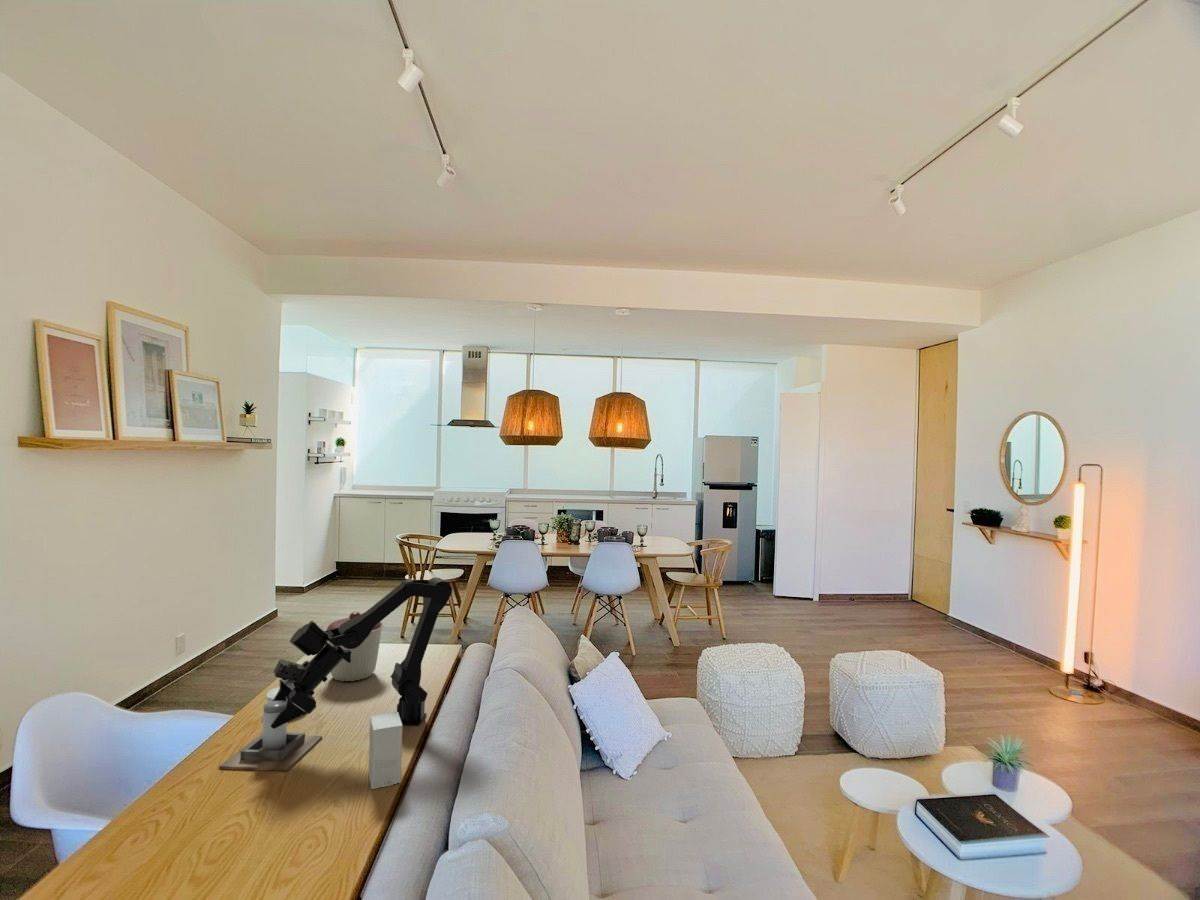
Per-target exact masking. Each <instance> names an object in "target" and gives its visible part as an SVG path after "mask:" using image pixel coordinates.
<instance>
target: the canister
mask: <svg viewBox="0 0 1200 900" xmlns="http://www.w3.org/2000/svg"><path fill="white" fill-rule="evenodd" d="M361 614H362V613H360V612H359V611H353V612H351V613H350V614H349V617H345V618H341V619H337V620H335V621H333V622H331V623H329V624H328V625H327V626H325V628H324V631H326V630H330V629H334V628H337V627H339V626H340V625H341V624H343V623H345V622H346V621H348V620H350V619H351V618H353V617H356V616H358V615H361ZM384 626H385V623H384V622H383V621H380V622H379V623H378V624H377V625H376V626H375V627H374V628H373V630H372V631H371V633H370V634H369V636H368V637H367V638H366V639H365V640H364V641H363V643H362V644H361V645H360V646H358V647H357V648H355V649H347V648H344V647H343V646H340V647H341V648H343V649H344V650H350V651H351V652H352V653H351V662H350V663H348V662H347V661H345V660H344V659H342V660H341V661H340V662H339V664H338V665H337V666H336V667H335V668H334V669H333V670H332V671H331V672H330V675H331V677H332V678H333V679H334V680H336V681H338V680H339V682H344V681H351V682H356V681H355V680H358V681H361V680H360V679H362V680H365V679H367V678H368V677H371V676H372V675H373V673H374V672H375V670H376V666H377V661H378V656H379V651H380V650H379V648H380V641H381V635H382V629H383V628H384ZM327 642H328V643H329V644H331V645H332V646H334V645H333V644H332V643H331V642H329V640H328V641H327ZM364 678H365V679H364Z"/></svg>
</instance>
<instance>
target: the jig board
mask: <svg viewBox="0 0 1200 900" xmlns="http://www.w3.org/2000/svg"><path fill="white" fill-rule="evenodd" d="M321 740H323V735H314V734H313V735H309V734H308V735H307V734H306V733H305V732H287V737H286V747H284V748H283V749H282V750H281V751H274V750H262V733H260V734H259V735H258V736H256V737H254V739H252V740H250V741H249V742H248V743H247V744H246V745H245V746H244V747H242V748H241V749H239V750H238V751H237V752H235V753H234V754H233V755H232V756H230V757H229V758H228V759H227V760H225V761H224V762H223V763H222V764H220V765H219V766H218V767H219V768H218V769H219V770H238V771H239V770H243V771H263V770H264V771H265V772H266V770H275V771H274V772H288V771H290V770H291V768H293V767H294V766H295V765H296V764H297V763H298V762H299V761H300V760H301V759H303V757H304V756H305V755H307V754H308V753H309V752H310V751H311V749H313V748H314V747H315V746H316V745H317V744H318V743H319V742H320V741H321Z"/></svg>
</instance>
